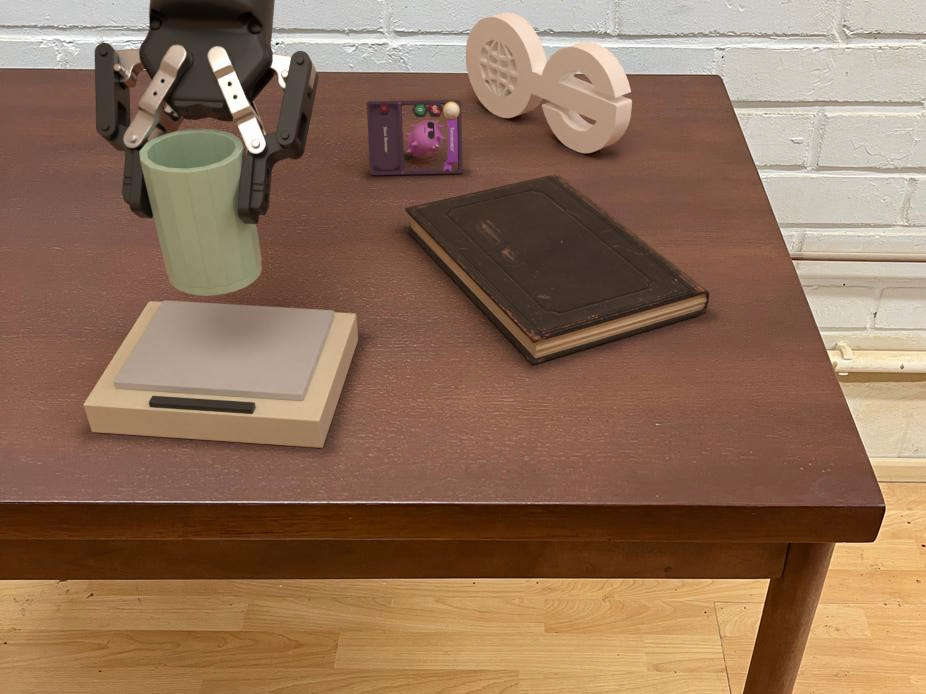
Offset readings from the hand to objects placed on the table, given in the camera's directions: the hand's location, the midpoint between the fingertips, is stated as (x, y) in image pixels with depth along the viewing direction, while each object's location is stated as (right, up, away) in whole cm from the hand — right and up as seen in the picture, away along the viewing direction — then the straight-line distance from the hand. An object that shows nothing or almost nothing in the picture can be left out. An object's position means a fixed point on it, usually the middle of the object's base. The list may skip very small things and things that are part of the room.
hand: (194, 216), depth 63 cm
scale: (0, -9, +10) cm, 14 cm away
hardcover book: (+24, +1, +22) cm, 33 cm away
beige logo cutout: (+24, +21, +44) cm, 54 cm away
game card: (+11, +15, +37) cm, 42 cm away
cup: (0, -2, +5) cm, 5 cm away
